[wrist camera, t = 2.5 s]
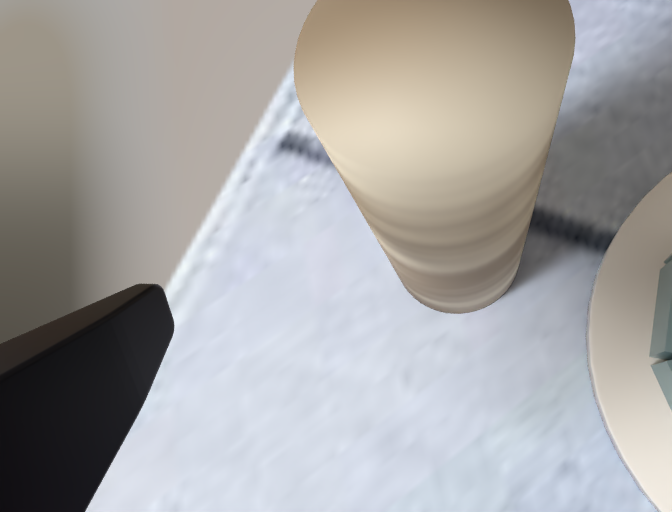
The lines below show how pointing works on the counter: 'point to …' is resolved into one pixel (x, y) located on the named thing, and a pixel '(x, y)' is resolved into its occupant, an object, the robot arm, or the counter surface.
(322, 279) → the counter surface
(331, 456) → the counter surface
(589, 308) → the ring dish
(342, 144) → the birch cylinder
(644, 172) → the counter surface
